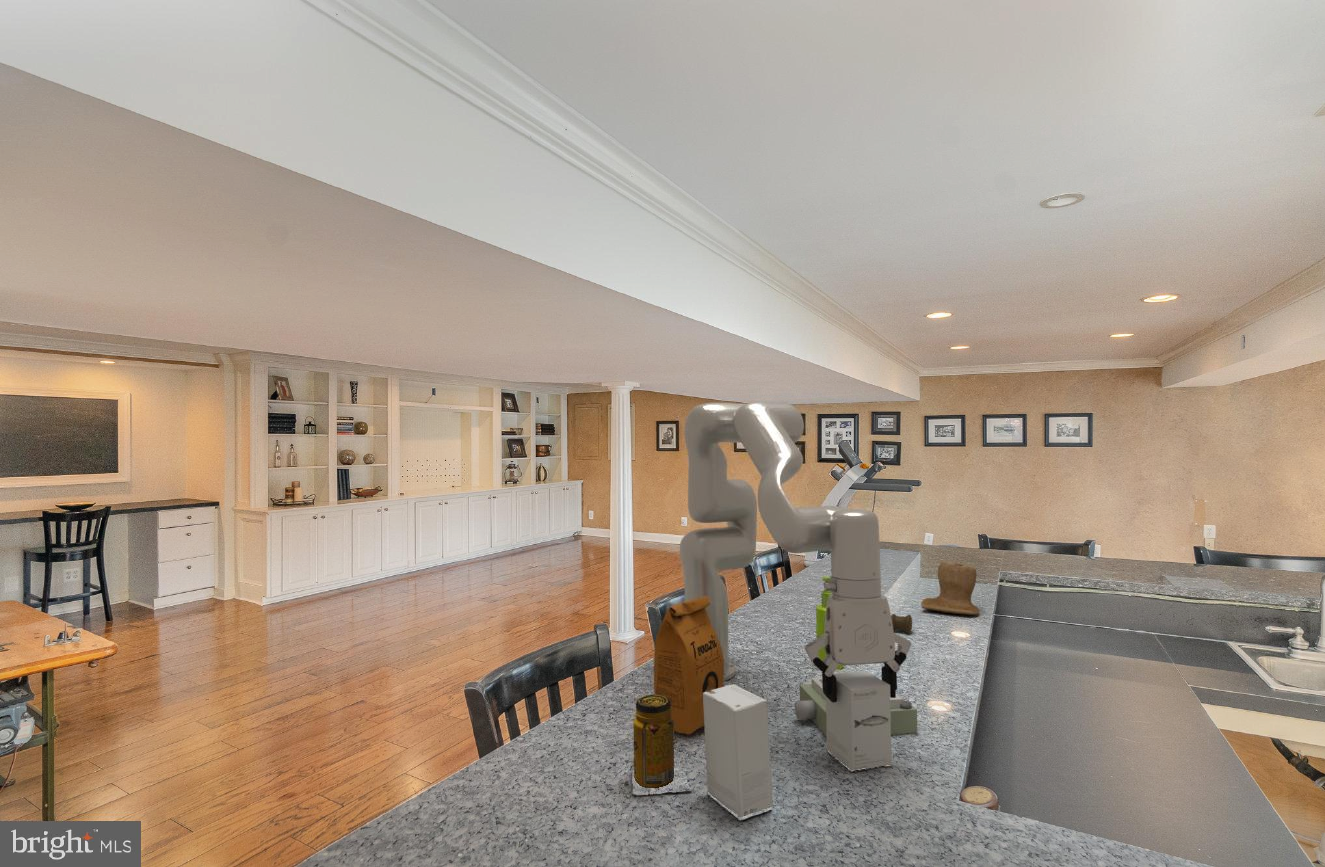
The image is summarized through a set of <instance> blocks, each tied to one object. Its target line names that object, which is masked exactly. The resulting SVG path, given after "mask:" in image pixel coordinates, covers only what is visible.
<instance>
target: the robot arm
mask: <svg viewBox="0 0 1325 867" xmlns="http://www.w3.org/2000/svg"><path fill="white" fill-rule="evenodd" d="M804 428H805V423H804V419H803V415H802V414H801V411H799V409H798V408H796V407H795V406H794V405H792V404H790V403H785V402H767V401H753V402H749V403H735V402H733V403H732V402H705V403H701V404H698V405H696V406H694V407H693V408H691V410H690V411H689V413H688V414H687V416H686V418H685V422H684V429H683V430H684V433H683V434H684V441H685V445H686V451H687V458H688V474H687V475H688V479H687V480H688V481H687V509H688V514H689V517H690V518H691V519H692V520H693V521H695V523H702V524H712V523H714V524H715V523H716V524H717V523H726V524H727V526H724V527H723V526H722V527H709V528H707V527H706V528H699V529H694V530H691V531H690V532H687V533H686V534H684V535H683V537H682V539H681V541H680V544H679V556H680V562H681V566H682V573H683V580H684V602H686V601H690V600H693V599H697V598H701V597H704V596H707V597H708V599H709V602H710V605H709V606H707V607H705V610H706V611H707V613H708V616H709V619H710V623H711V626H712V627H713V629H714V630H715V633H716V635H717V637H718V640H719V643H720V645H721V648H722V653H723V658H724V682H725V681H728V680H730V679H732V678H734V676H736V674H737V668H736V665H735V664H733V663H732V662H730V661H729V658H730V657H729V656H730V655H729V654H730V653H729V652H730V651H729V600H728V599H729V596H728V593H729V592H728V590H727V586H726V585H725V583H724V581H723V580H722V578H721V576H720V575H719V572H723V571H730V570H737V569H739V570H740V569H744V568H747V567H748V566H750V565H751V564H752V562H753V561H754V559H755V556H756V552H757V531H758V530H757V529H758V528H757V527H758V525H757V522H758V520H757V519H758V511H759V514H760V517H761V520H762V521H763V522H764V525H765V526H766V529H767V531H768V532H769V534H770V535H771V537H772V539H773V540H774V542H775V543H776V544H777V545H778V546H779V547H780V548H781V549H783V551H786V552H787V553H791V554H805V553H813V552H815V553H816V552H824V551H830V563H831V564H830V568H831V570H830V571H831V574H830V581H828V582H825V581H823V589H824V590H829V591H831V593H832V595H829V597H828V602H827V608H826V615H825V631H824V634H823V635H822V636H820V637H818V638H815V639H813V640H812V641H810V642H809V643H807V644H805V646H804V650H805V652H806V654H807V656H808V657H809V660H810V661H811V663H812V664H813V665H814V666H816V668H818V669H819V671H820V672H821V677H822V687H823V693H824V694H825V696H826V697H827V698H828V699H829V700H830V701H831V702H832V703H833V702H836V701H837V682H836V677H835V676H834V675H833V674H835V673H836V672H835V671H837V670H836V669H837V667H838V666H839V665H840V664H841V665H844V666H858V665H872V664H873V665H874V664H875V665H876V664H883V665H884V666H883V665H882V666H881V670H880V671H881V680H882V681H884V682H886V683H888V684H889V685H890V697H891V698H896V694H897V693H896V691H897V690H898V677H897V676H898V675H897V674H898V673H899V671H901V670H900V668H901V666H902V664H903V663H904V662H905V661H906V660H907V658H908V657H907V655H908V653H909V651H910V648H911V646H912V642H911V641H910V640H909V639H907V638H906V637H903V636H901V635H899V634H897V633H895V632H894V631H895V630H893V624H892V618H891V615H892V614H891V613H892V612H891V608H890V605H889V600H888V598H887V596H885V595H882V578H881V577H882V575H881V555H880V554H881V550H880V527H879V518H878V515H877V514H876V513H875V512H874V511H871V510H867V509H848V508H845V507H841V506H837V505H822V506H820V505H818V506H805V507H804V506H802V507H795V506H794V505H793V504H792V502H791V501H790V499H789V498H788V496H787V494H786V492H785V491H784V488H783V485H782V484H785V483H786V482H788V481H789V480H791V479H792V478H793V477H795V475H796V474H797V473H799V471H800V469H801V468H802V466H803V463H804V457H803V454H802V452H801V451H800V449H799V448H798V446H797V445H796V444H795V443H797V442H798V441H799V440H800V439H801V438H802V436H803V433H804ZM719 443H731V444H732V443H741V444H742V446H743V448H744V449H745V451H746V453H747V455H748V456H749V457H750V459H751V461H752V463H753V465H754V466H755V468H756V470H757V471H758V473H759V474H760V477H761V478H760V481H759V484H758V487H757V488H758V489H757V494H756V493H755V490H754V489H753V487H752V485H751V483H749V482H748V481H746V480H744V479H738V478H729V479H728V477H727V476H728V475H727V474H728V461H727V457H726V455H725V453H724V451H723V449H722V447H721V446H720V444H719ZM756 495H757V496H756ZM896 644H897V650H896ZM823 647H825V653H826V657H825V658H824V659H823V661H822V660H821V659H820V658H819V656H818V650H820V649H821V648H823Z"/></svg>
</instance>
